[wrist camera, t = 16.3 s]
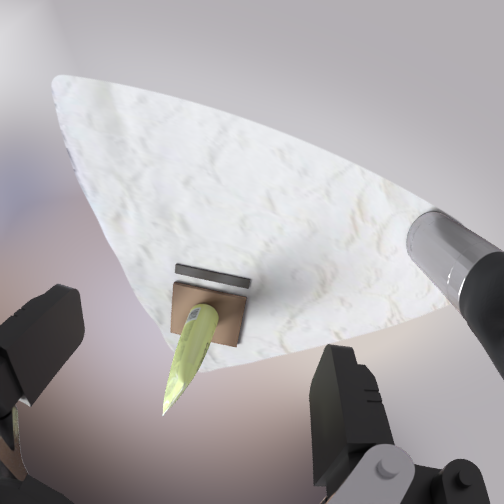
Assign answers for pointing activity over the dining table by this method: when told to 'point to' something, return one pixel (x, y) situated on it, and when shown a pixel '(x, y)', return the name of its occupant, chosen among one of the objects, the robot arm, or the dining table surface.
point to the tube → (190, 351)
